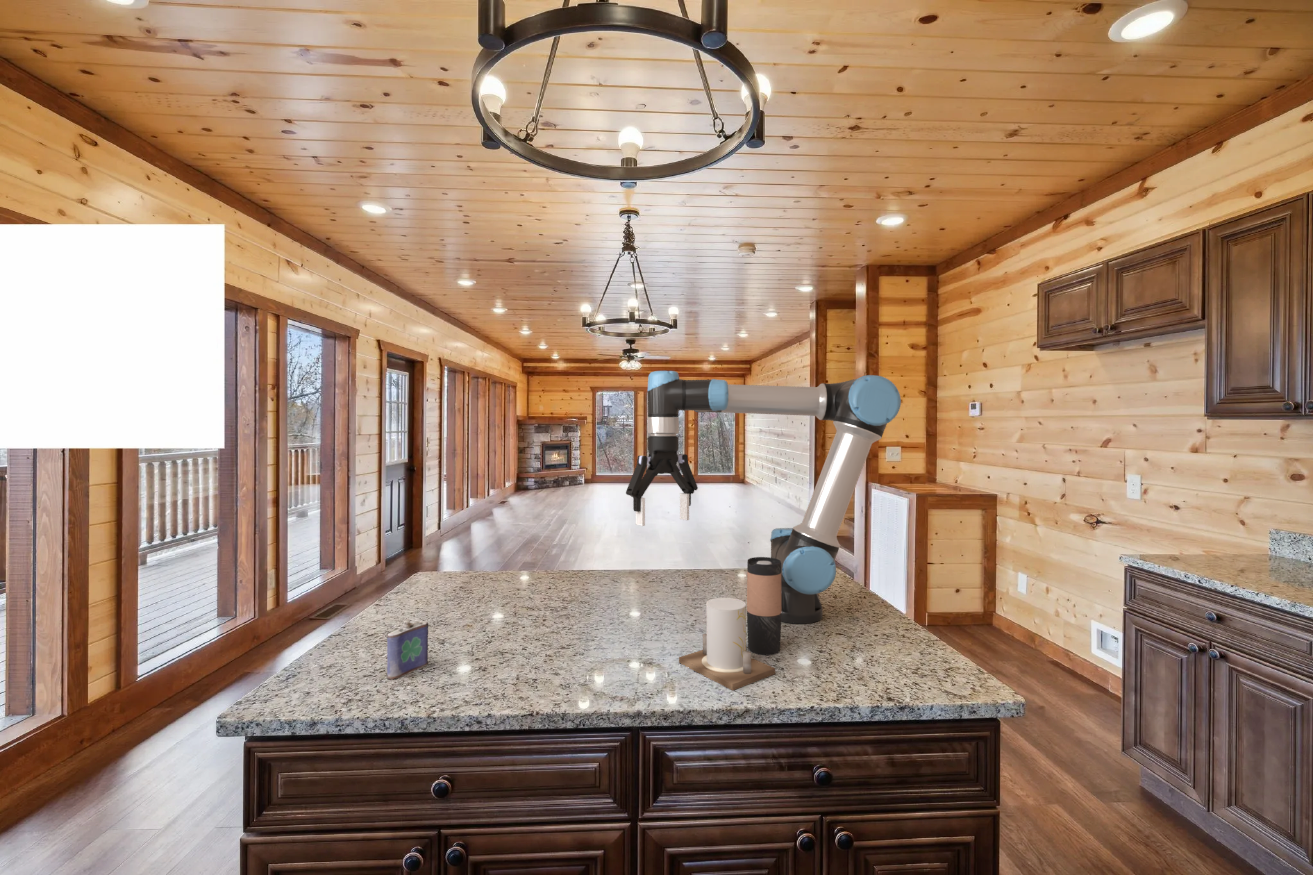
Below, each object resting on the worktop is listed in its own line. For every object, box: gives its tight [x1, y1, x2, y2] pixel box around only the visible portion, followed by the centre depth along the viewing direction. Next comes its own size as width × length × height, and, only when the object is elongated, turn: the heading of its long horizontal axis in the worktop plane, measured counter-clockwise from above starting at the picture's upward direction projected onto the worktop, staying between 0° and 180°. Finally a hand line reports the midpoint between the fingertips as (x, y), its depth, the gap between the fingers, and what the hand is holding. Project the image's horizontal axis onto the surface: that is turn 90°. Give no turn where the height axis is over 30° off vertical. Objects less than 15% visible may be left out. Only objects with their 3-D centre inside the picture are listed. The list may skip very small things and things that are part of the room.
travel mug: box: [746, 556, 782, 656], centre depth 129 cm, size 8×8×20 cm
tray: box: [678, 633, 776, 692], centre depth 119 cm, size 16×12×5 cm
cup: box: [705, 597, 747, 669], centre depth 119 cm, size 8×8×12 cm
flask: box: [386, 617, 429, 681], centre depth 118 cm, size 9×3×11 cm, turn 151°
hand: (663, 522), depth 140 cm, fingers open, 13 cm apart
